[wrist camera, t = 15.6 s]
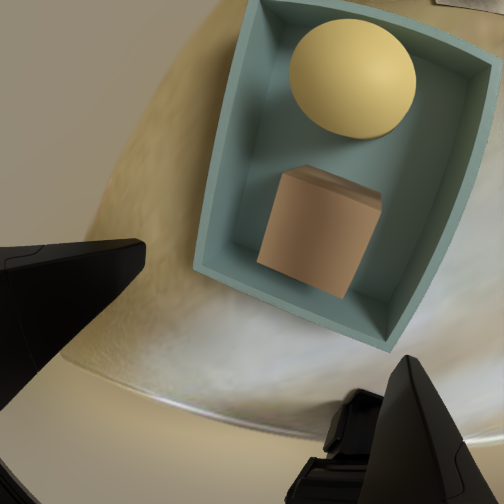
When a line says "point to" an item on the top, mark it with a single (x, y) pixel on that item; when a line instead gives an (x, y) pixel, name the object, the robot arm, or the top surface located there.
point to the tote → (346, 166)
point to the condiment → (477, 4)
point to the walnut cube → (319, 228)
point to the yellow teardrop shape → (352, 78)
